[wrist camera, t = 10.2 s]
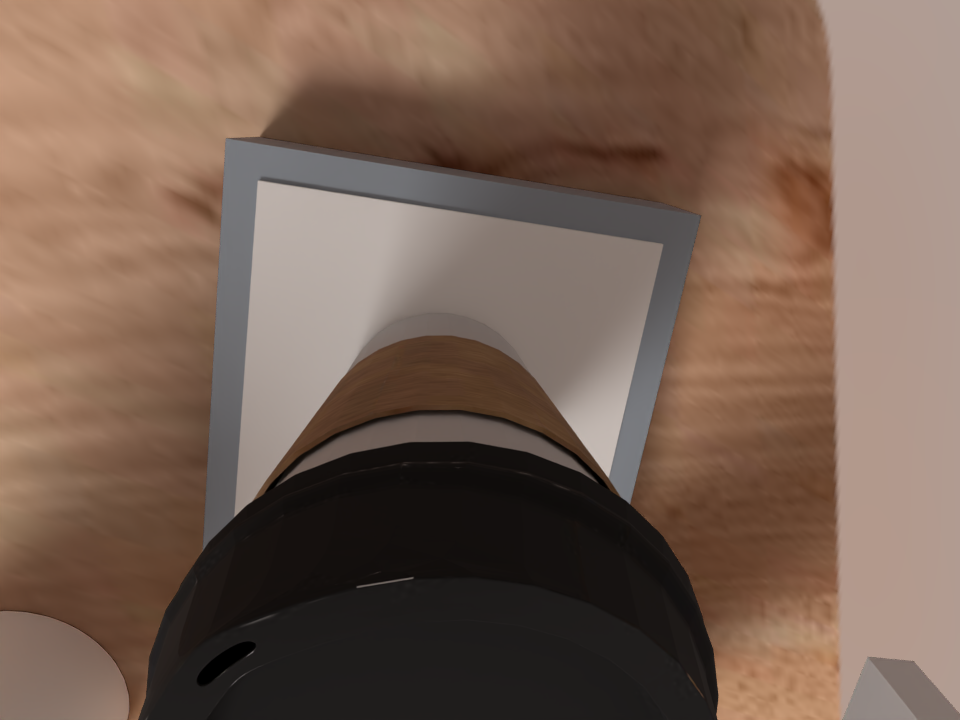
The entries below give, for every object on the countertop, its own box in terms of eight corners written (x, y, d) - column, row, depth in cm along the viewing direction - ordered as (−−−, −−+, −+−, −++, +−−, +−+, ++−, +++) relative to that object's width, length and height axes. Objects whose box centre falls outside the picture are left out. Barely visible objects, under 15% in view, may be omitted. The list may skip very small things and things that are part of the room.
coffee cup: (458, 212, 21) (499, 386, 7) (622, 419, 24) (905, 867, 9) (246, 384, 23) (-87, 831, 8) (422, 565, 25) (399, 1159, 11)
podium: (258, 136, 24) (223, 138, 20) (662, 202, 26) (703, 216, 22) (233, 508, 28) (199, 570, 24) (582, 547, 30) (605, 612, 26)
